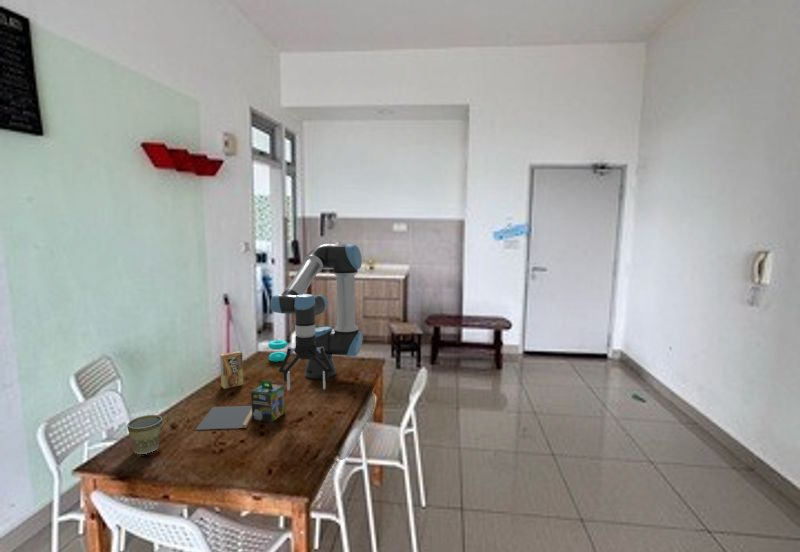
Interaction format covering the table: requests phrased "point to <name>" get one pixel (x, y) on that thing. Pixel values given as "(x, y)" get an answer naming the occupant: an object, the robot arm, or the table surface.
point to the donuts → (276, 346)
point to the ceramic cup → (145, 433)
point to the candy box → (231, 369)
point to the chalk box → (267, 402)
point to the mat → (227, 418)
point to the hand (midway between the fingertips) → (306, 388)
